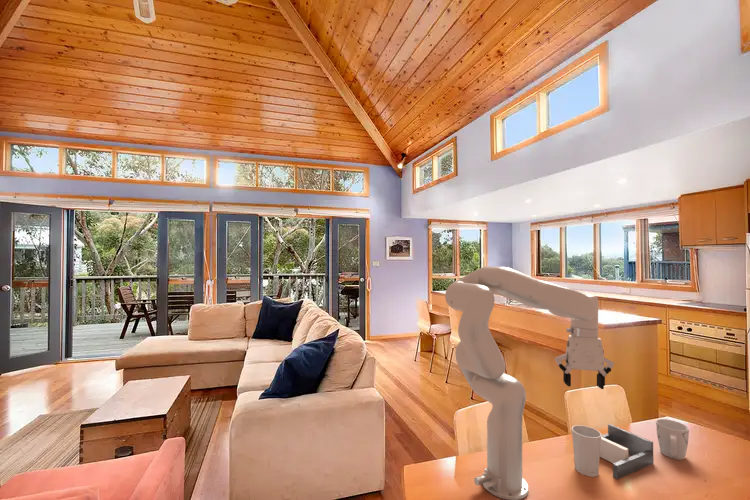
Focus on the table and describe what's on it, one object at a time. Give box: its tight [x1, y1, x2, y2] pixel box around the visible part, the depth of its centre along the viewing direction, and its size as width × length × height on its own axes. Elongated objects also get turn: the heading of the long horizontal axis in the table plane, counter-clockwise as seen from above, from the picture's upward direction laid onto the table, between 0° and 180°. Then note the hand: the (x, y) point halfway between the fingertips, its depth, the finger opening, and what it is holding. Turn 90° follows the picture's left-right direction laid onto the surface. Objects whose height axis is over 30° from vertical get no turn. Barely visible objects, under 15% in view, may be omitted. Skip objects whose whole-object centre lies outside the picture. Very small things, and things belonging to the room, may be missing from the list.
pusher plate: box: [599, 437, 629, 464], centre depth 113 cm, size 2×10×6 cm, turn 25°
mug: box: [655, 418, 690, 460], centre depth 116 cm, size 11×8×10 cm
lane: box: [601, 423, 655, 480], centre depth 114 cm, size 19×13×7 cm
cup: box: [571, 424, 603, 478], centre depth 108 cm, size 8×8×12 cm
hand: (583, 386), depth 112 cm, fingers open, 9 cm apart
